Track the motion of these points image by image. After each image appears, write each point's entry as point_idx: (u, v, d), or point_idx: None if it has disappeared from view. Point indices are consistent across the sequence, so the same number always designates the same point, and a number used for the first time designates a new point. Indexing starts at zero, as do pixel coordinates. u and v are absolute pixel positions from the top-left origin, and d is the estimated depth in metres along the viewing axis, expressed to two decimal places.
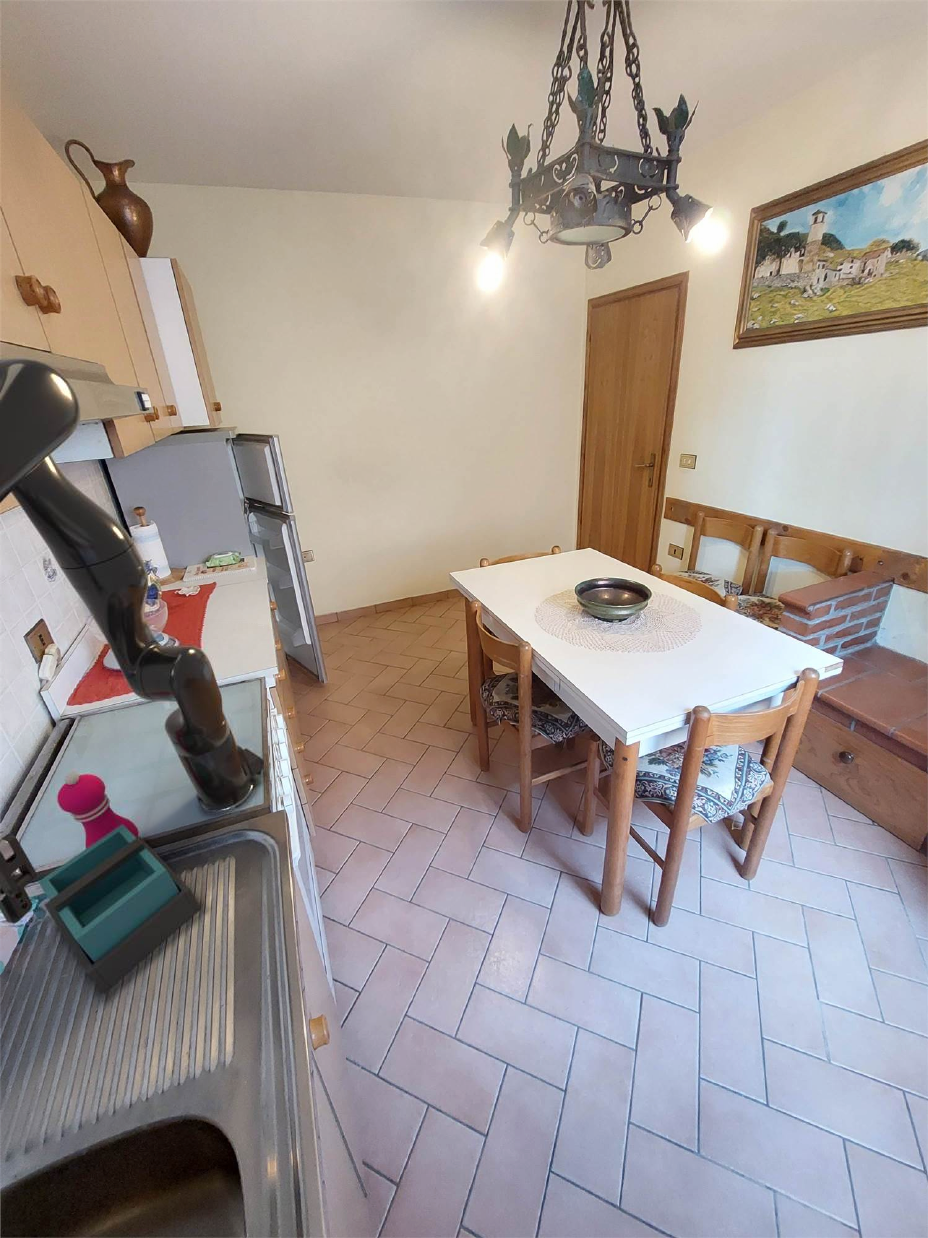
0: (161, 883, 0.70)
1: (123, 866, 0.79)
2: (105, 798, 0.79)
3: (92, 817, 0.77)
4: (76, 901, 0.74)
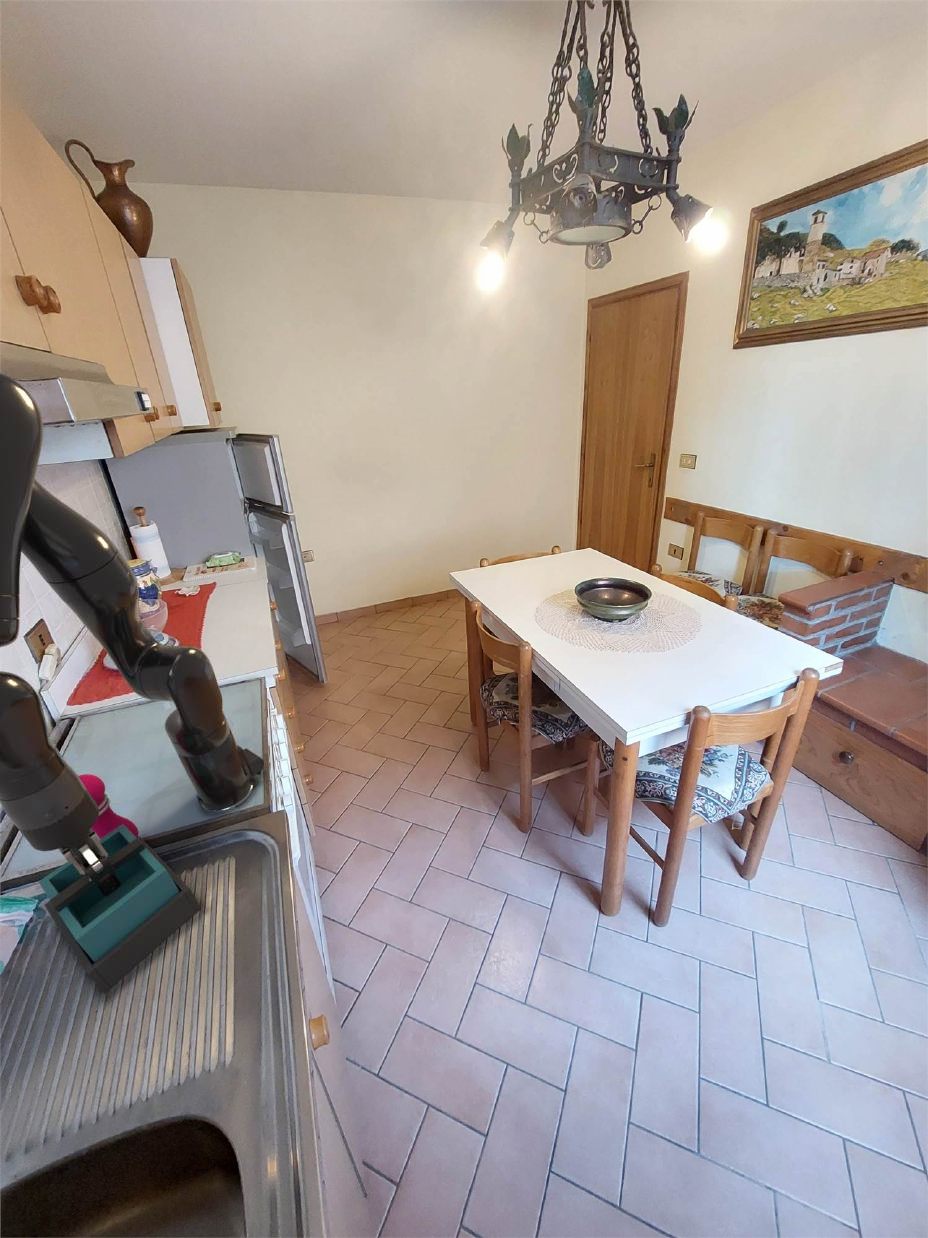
0: (161, 883, 0.70)
1: (123, 866, 0.79)
2: (105, 798, 0.79)
3: None
4: (76, 901, 0.74)
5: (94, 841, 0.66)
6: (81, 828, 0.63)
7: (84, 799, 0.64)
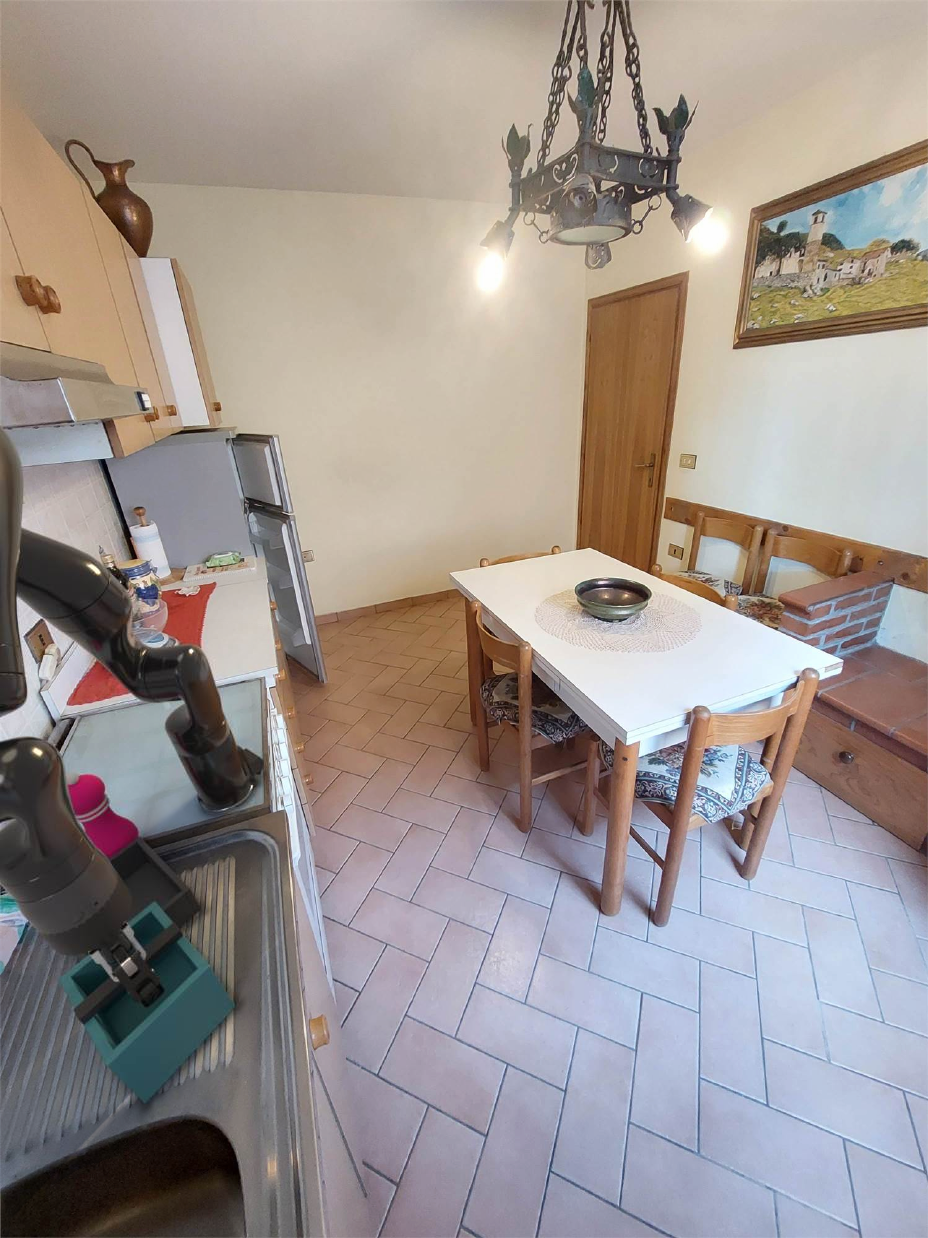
0: (204, 982, 0.59)
1: None
2: (105, 798, 0.79)
3: (92, 817, 0.77)
4: None
5: None
6: (113, 925, 0.52)
7: (116, 889, 0.53)
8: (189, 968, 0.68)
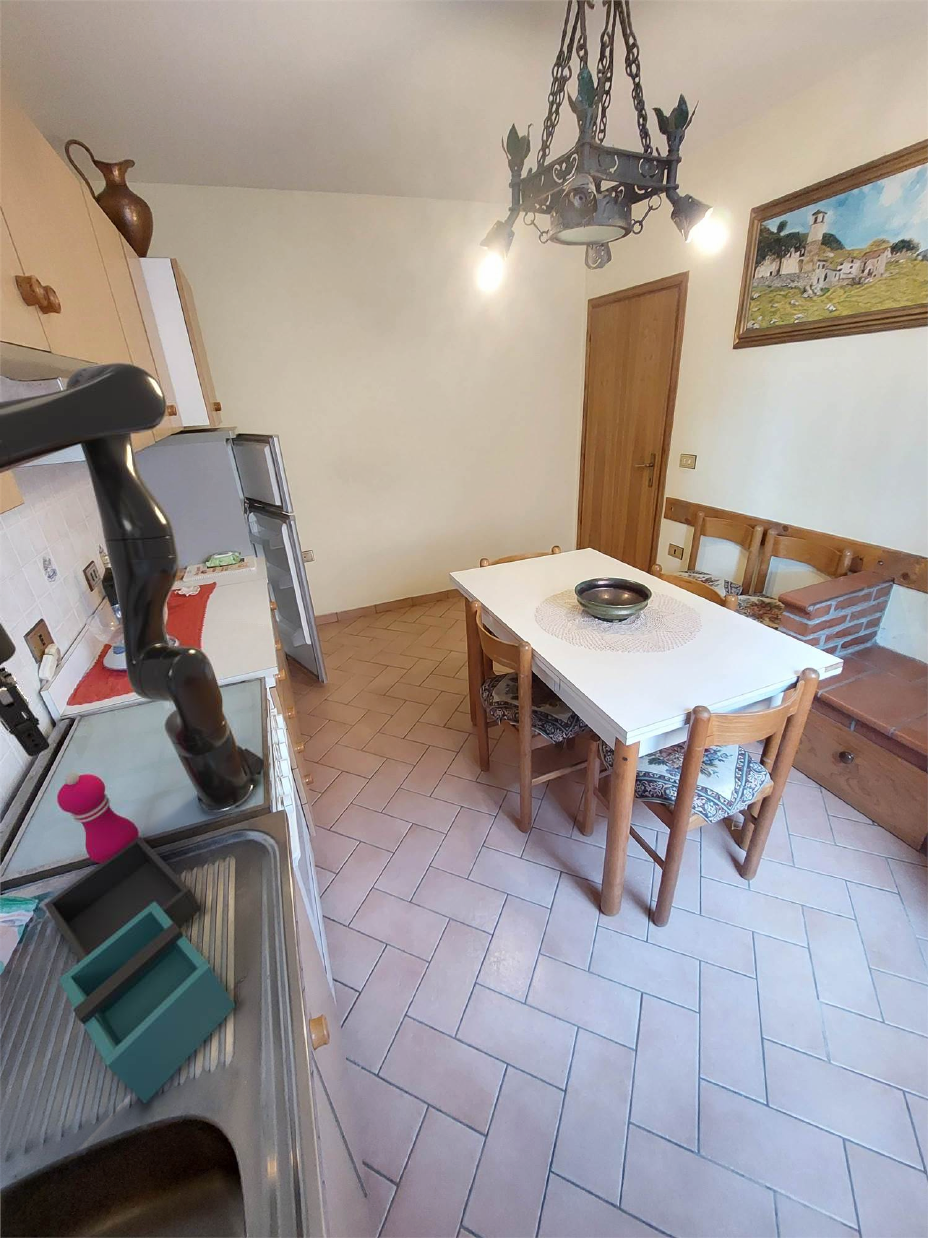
0: (205, 982, 0.59)
1: None
2: (105, 798, 0.79)
3: (92, 817, 0.77)
4: None
5: None
6: None
7: None
8: (189, 968, 0.68)
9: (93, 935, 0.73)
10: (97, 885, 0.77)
